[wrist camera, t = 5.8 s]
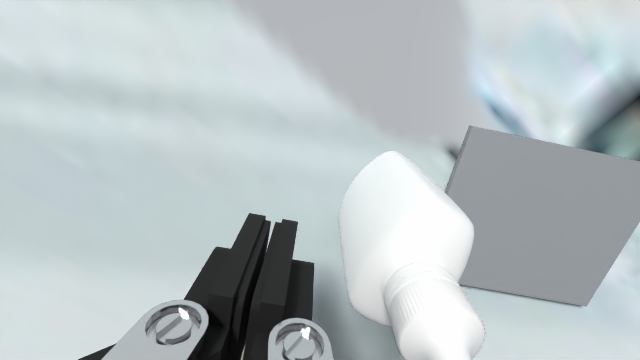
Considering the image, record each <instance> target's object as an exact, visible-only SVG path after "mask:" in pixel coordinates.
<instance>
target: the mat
mask: <svg viewBox="0 0 640 360" xmlns="http://www.w3.org/2000/svg"><path fill="white" fill-rule="evenodd" d="M445 193H446V194H447V195H448V196H449V197H450V198H451V199H452V200H453V201H454V202H455V203H456V204H457V206H458V207H459V208H460V209H461V210H462V211H463V212H464V213H465V214H466V215H467V217H468V218H469V219H470V221H471V222H472V224H473V226H474V240H473V245H472V249H471V253H470V256H469V258H468V261H467V264H466V267H465V269H464V271H463V273H462V275H461V277H460V279H459V281H458V284H461V285H467V286H472V287H478V288H484V289H489V290H495V291H501V292H506V293H512V294H518V295H523V296H529V297H535V298H541V299H546V300H552V301H558V302H563V303H569V304H575V305H580V306H587V305H588V303H589V301H590V300H591V298H592V297H593V295H594V293H595V292H596V290H597V289H598V287H599V286H600V284H601V282H602V281H603V279H604V278H605V276H606V274H607V273H608V271H609V270H610V268H611V266H612V265H613V263H614V262H615V260H616V258H617V257H618V255H619V254H620V252H621V250H622V249H623V247H624V246H625V244H626V243H627V241H628V239H629V238H630V236H631V235H632V233H633V231H634V230H635V228H636V227H637V225H638V223H639V222H640V161H635V160H631V159H626V158H621V157H616V156H612V155H607V154H602V153H597V152H593V151H588V150H583V149H578V148H574V147H569V146H564V145H560V144H555V143H550V142H545V141H541V140H536V139H531V138H526V137H522V136H517V135H512V134H507V133H503V132H498V131H493V130H488V129H483V128H479V127H474V126H469V128H468V130H467V133H466V136H465V139H464V141H463V144H462V147H461V149H460V152H459V155H458V157H457V160H456V163H455V166H454V168H453V171H452V174H451V176H450V179H449V182H448V184H447V187H446V190H445Z"/></svg>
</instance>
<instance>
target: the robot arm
mask: <svg viewBox="0 0 640 360" xmlns="http://www.w3.org/2000/svg"><path fill="white" fill-rule="evenodd" d="M265 218H266V216H263V215H257V214H251V213H249V215H248V217H247V219H246V221H245V223H244V225H243V227H242V229H241V230H240V232H239V234H238V236H237V238H236V240H235V242H234V244H233V246H232V248H231V249H228V248H222V247H216V248H215V249H214V250H213V252H212V254H211V255H210V257H209V259H208V260H207V262H206V263H205V265H204V267H203V268H202V270H201V272H200V273H199V275H198V277H197V278H196V280H195V282H194V283H193V285H192V287H191V288H190V290H189V292H188V293H187V295H186V297H185V298H184V300H172V301H169V302H165V303H162V304H160V305H158V306H156V307H154V308H152V309H151V310H150V311H148V312H147V313H146V314H145V315H144V316H143V317H142V318H141V319H140V320H139V321H138V322H137V323H136V324H135V325H134V326H133V327H132V328H131V329H130V330H129V331H128V332H127V333H126V334H125V335H124V336H123V338H122V339H121V340H120V341H119V342H118V343H116V344H114V345H112V346H109V347H107V348H105V349H102V350H100V351H97V352H95V353H93V354H90V355H88V356H85V357H83V358H81V359H78V360H241V357H242V353H243V350H244V355H243V360H334V358H333V354H332V349H331V344H330V341H329V338H328V335H327V334H326V333H325V331H324V330H323V329H322V328H321V327H320V326H318V325H317V324H316V323H314V322H312V307H313V281H314V263H311V262H305V261H299V260H293V259H292V257H293V250H294V244H295V238H296V231H297V225H298V222H296V221H291V220H285V219H282V223H278V222H275V226H274V229H273V232H272V235H271V239H270V242H269V245H268V248H267V244H268V237H269V231H270V224H271V221H267V220H265ZM266 250H267V252H266ZM244 346H245V348H244Z"/></svg>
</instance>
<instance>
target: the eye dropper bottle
mask: <svg viewBox="0 0 640 360" xmlns="http://www.w3.org/2000/svg"><path fill="white" fill-rule="evenodd" d="M339 229H340V238H341V247H342V255H343V263H344V272H345V279H346V286H347V292H348V297H349V300H350V304H351V305H352V307H353V308H354V309H355V310H356V311H357V312H358V313H360V314H361V315H363V316H365V317H367V318H368V319H370V320H372V321H374V322H377V323H379V324H382V325H386V326H392V329H393V333H394V337H395V340H396V344H397V348H398V350H399V352H400V354H401V355H402V357H403V358H404V359H405V360H472V359H473V358H474V357H475V356H476V355H477V354H478V352H479V351H480V349H481V347H482V345H483V343H484V340H485V328H484V324H483V321H482V320H481V318H480V316H479V315H478V313H477V312H476V310H475V309H474V307H473V306H472V304H471V302H470V301H469V299H468V298H467V296H466V295H465V293H464V292H463V290H462V288H461V287H460V285H459V284H458V281H459V279H460V277H461V275H462V273H463V271H464V269H465V267H466V264H467V261H468V258H469V256H470V253H471V249H472V245H473V240H474V226H473V224H472V222H471V221H470V219H469V218H468V217H467V215H466V214H465V213H464V212H463V211H462V210H461V209H460V208H459V207H458V206H457V204H456V203H455V202H454V201H453V200H452V199H451V198H450V197H449V196H448V195H447V194H446V193H445V192H444V191H443V190H442V189H441V188H440V187H439V186H438V185H437V184H436V183H435V182H434V181H433V180H432V179H431V178H430V177H429V176H428V175H427V174H426V173H425V172H424V171H423V170H422V169H421V168H420V167H419V166H417V165H416V164H415V163H414V162H412V161H411V160H409V159H408V158H406V157H404V156H403V155H401V154H400V153H398V152H395V151H389V152H385V153H383V154H382V155H380V156H378V157H377V158H375V159H374V160H373V161H371V162H370V163H369V164H368V165H367V166H366V167H365V168H364V169H363V170H362V171H361V172H360V173H359V174H358V175H357V176H356V178H355V179H354V180H353V182H352V183H351V185H350V186H349V188H348V190H347V192H346V194H345V196H344V199H343V202H342V205H341V208H340V213H339Z"/></svg>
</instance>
